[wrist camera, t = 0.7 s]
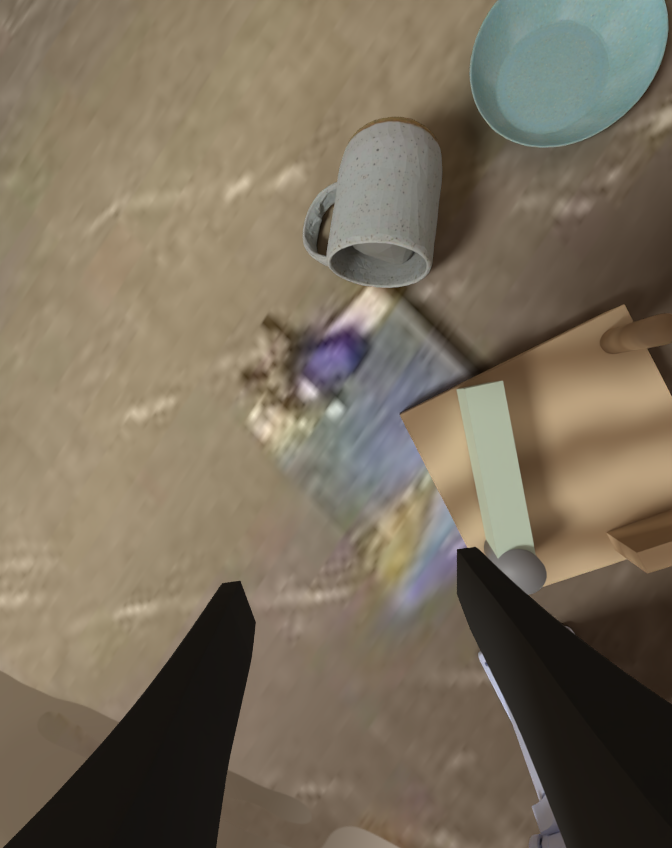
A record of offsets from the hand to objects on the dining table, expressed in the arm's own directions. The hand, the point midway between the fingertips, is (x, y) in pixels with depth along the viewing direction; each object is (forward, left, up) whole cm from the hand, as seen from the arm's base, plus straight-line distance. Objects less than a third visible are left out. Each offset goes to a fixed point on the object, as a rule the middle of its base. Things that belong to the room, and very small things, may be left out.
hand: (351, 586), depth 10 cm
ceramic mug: (+18, -8, -18) cm, 26 cm away
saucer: (+20, -24, -18) cm, 37 cm away
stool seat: (-5, -12, -18) cm, 22 cm away
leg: (-4, -8, -16) cm, 18 cm away
